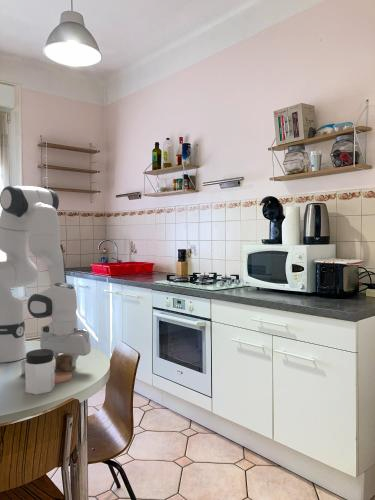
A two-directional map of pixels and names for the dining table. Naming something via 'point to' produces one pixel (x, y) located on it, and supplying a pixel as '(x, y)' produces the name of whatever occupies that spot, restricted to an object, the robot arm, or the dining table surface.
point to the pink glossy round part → (62, 377)
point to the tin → (23, 367)
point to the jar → (39, 371)
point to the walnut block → (64, 363)
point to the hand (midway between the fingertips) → (65, 364)
